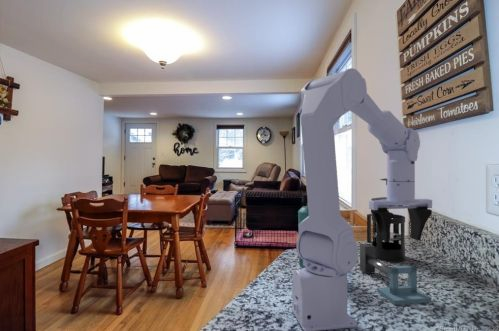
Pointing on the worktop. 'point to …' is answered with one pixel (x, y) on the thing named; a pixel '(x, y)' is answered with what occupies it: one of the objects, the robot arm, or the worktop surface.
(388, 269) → the hook rod
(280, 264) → the worktop surface
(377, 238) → the french press
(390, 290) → the eye bracket
